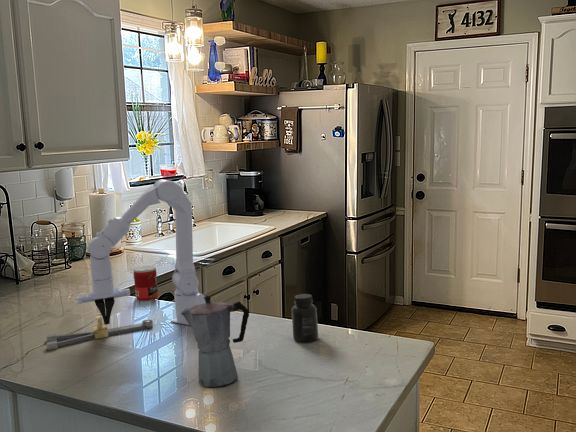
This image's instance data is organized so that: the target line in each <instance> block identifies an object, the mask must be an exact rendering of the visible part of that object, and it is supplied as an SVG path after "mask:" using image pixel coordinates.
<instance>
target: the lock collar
mask: <svg viewBox="0 0 576 432" xmlns="http://www.w3.org/2000/svg"><path fill="white" fill-rule="evenodd" d="M92 329H93V330H92V332H94V334H95V338H94V339H97V340H98V339H102V338H108V337H109V336H108V329H109V328H108V327H107V325H105V324H104V323H103V317H102V315H96V325H92Z"/></svg>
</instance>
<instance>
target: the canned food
mask: <svg viewBox="0 0 576 432" xmlns="http://www.w3.org/2000/svg"><path fill="white" fill-rule="evenodd" d="M133 279H134V289H135V297H136V300H137V301H140V302H141V301H142V302H146V301H147V302H148V301H152V300H156V299H157V298H158V297H159V290H158V289H159V288H158V276H157V269H156V266H153V265H152V266H151V265H143V266H138V267H134V268H133Z"/></svg>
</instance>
